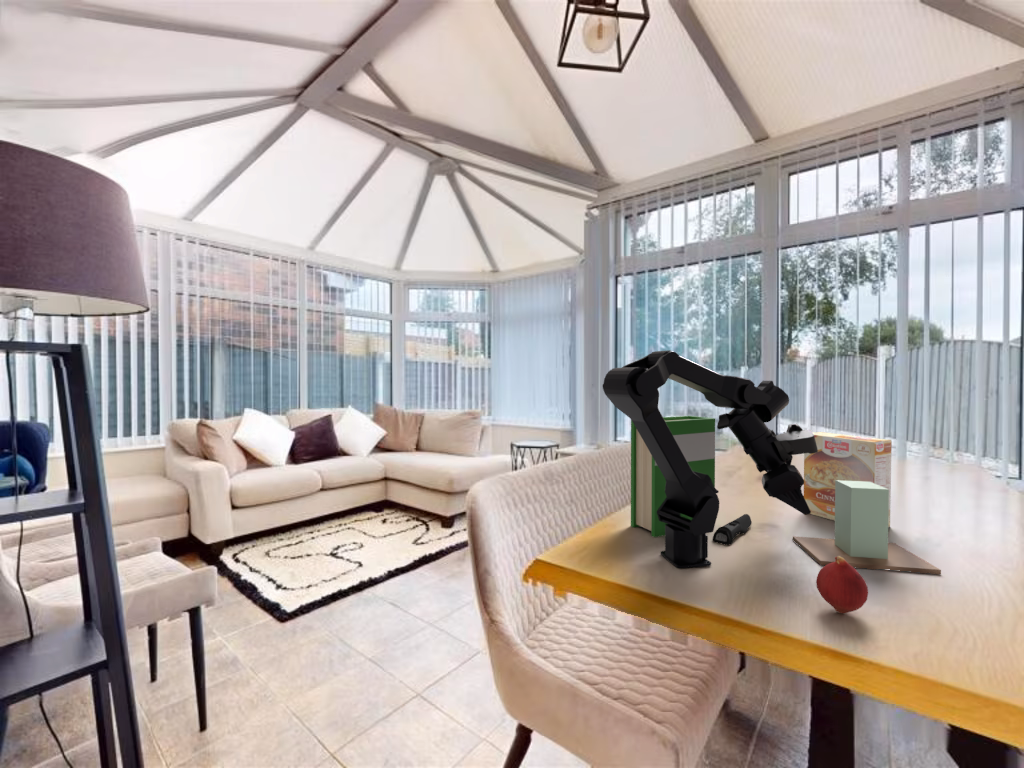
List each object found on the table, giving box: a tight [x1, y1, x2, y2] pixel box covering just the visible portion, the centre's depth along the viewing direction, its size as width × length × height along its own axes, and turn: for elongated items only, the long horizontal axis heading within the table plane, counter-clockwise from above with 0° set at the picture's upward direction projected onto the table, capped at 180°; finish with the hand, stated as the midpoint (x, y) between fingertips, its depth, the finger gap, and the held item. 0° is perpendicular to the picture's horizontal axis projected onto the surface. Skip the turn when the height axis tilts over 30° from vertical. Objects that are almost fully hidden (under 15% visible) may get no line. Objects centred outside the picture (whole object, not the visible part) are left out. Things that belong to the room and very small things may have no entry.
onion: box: [815, 556, 869, 614], centre depth 62 cm, size 6×6×8 cm
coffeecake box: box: [803, 431, 892, 528], centre depth 102 cm, size 15×7×20 cm, turn 25°
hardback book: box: [630, 415, 716, 538], centre depth 98 cm, size 18×7×24 cm, turn 115°
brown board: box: [792, 535, 942, 575], centre depth 82 cm, size 18×12×4 cm, turn 78°
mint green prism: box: [834, 480, 889, 559], centre depth 82 cm, size 6×6×12 cm
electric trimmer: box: [712, 513, 753, 546], centre depth 93 cm, size 4×16×3 cm, turn 134°
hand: (803, 502), depth 84 cm, fingers open, 9 cm apart
